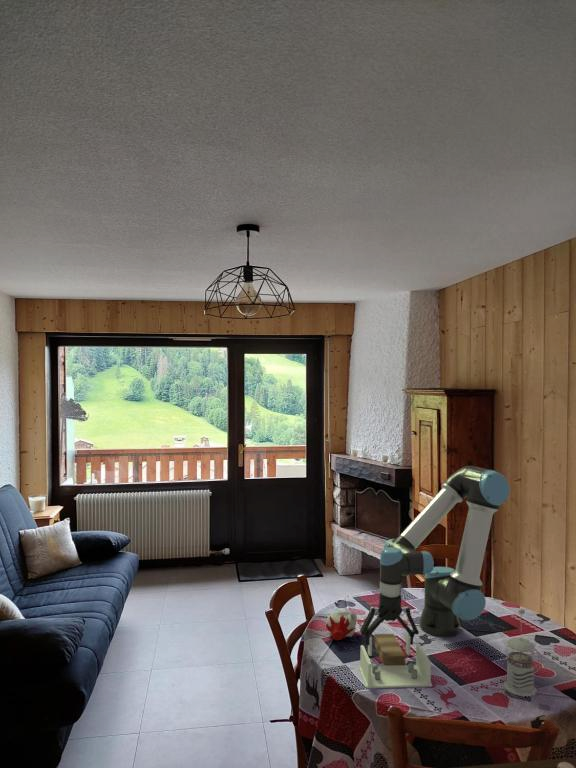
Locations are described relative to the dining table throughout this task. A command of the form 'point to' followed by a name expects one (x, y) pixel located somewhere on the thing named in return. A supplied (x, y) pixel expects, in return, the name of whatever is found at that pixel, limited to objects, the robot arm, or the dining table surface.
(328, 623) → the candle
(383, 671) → the shelf frame
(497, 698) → the dining table surface
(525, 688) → the french press
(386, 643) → the brown long block
